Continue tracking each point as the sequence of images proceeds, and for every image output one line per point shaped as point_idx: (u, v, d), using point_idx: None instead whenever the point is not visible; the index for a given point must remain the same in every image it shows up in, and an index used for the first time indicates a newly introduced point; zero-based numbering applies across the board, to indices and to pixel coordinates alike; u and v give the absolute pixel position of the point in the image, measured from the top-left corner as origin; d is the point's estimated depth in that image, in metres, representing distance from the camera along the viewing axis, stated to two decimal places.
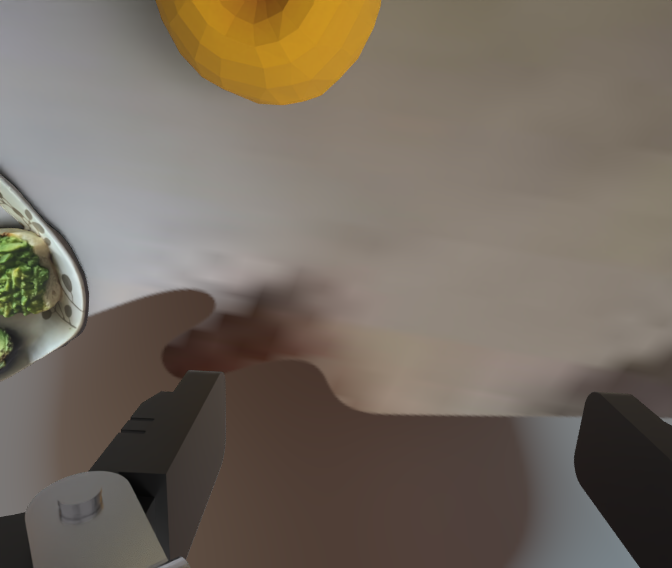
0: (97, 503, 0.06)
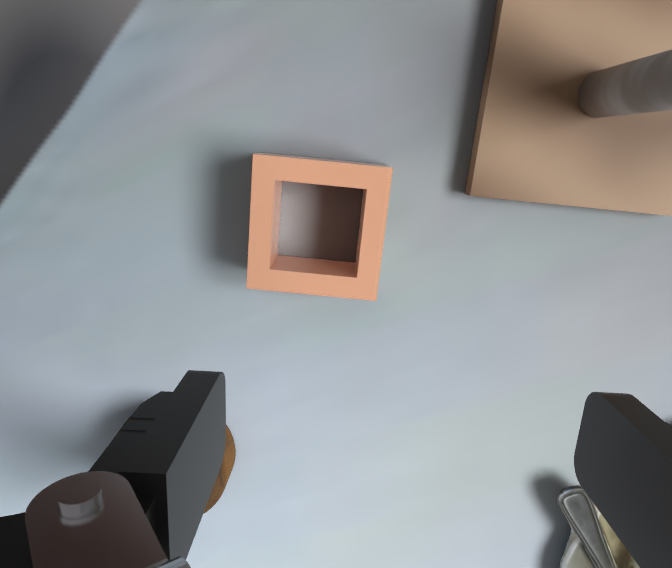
0: (97, 503, 0.06)
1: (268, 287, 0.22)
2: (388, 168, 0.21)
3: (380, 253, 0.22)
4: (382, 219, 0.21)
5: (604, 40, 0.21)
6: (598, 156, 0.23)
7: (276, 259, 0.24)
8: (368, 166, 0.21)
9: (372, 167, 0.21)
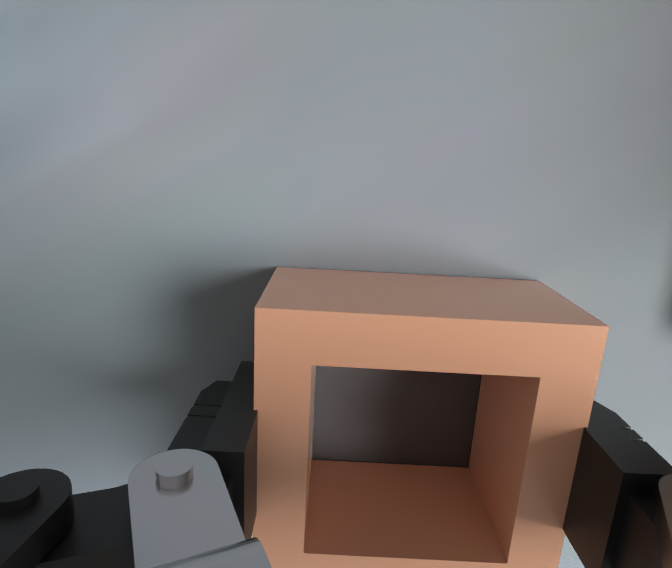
0: (188, 478, 0.07)
1: None
2: (597, 328, 0.08)
3: (565, 513, 0.09)
4: (574, 441, 0.09)
5: None
6: None
7: (312, 486, 0.11)
8: (546, 325, 0.08)
9: (556, 327, 0.08)
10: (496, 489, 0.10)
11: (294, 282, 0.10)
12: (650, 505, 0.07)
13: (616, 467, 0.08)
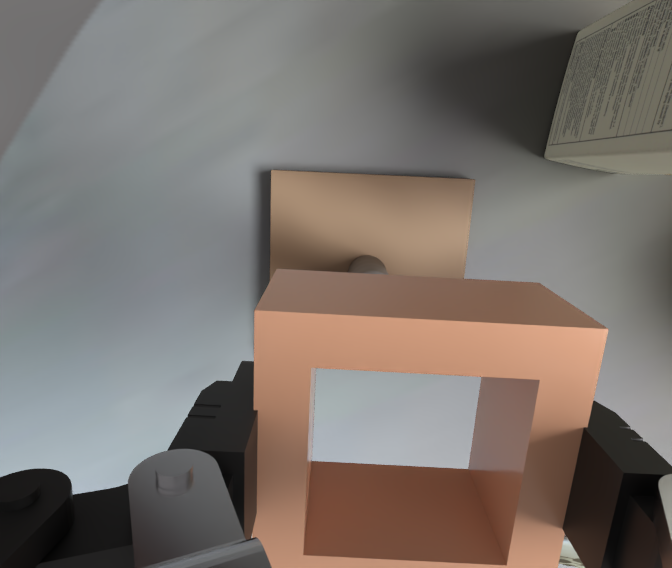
0: (188, 478, 0.07)
1: None
2: (596, 330, 0.08)
3: None
4: (574, 444, 0.09)
5: (362, 232, 0.25)
6: None
7: (312, 487, 0.11)
8: (546, 327, 0.08)
9: (556, 329, 0.08)
10: (496, 491, 0.10)
11: (294, 284, 0.10)
12: (650, 505, 0.07)
13: (616, 467, 0.08)
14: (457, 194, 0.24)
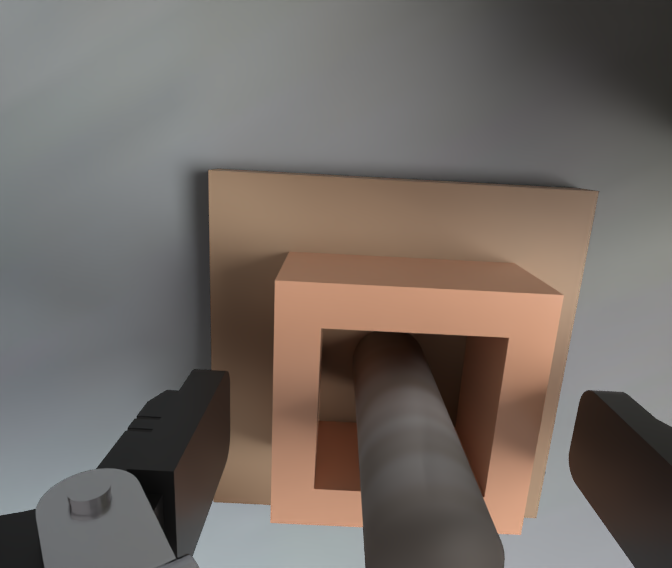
0: (106, 500, 0.06)
1: (312, 519, 0.12)
2: (554, 296, 0.10)
3: (532, 453, 0.11)
4: (538, 392, 0.11)
5: None
6: None
7: (319, 440, 0.13)
8: (513, 294, 0.10)
9: (521, 296, 0.10)
10: (476, 438, 0.12)
11: (305, 263, 0.12)
12: None
13: None
14: (563, 219, 0.13)
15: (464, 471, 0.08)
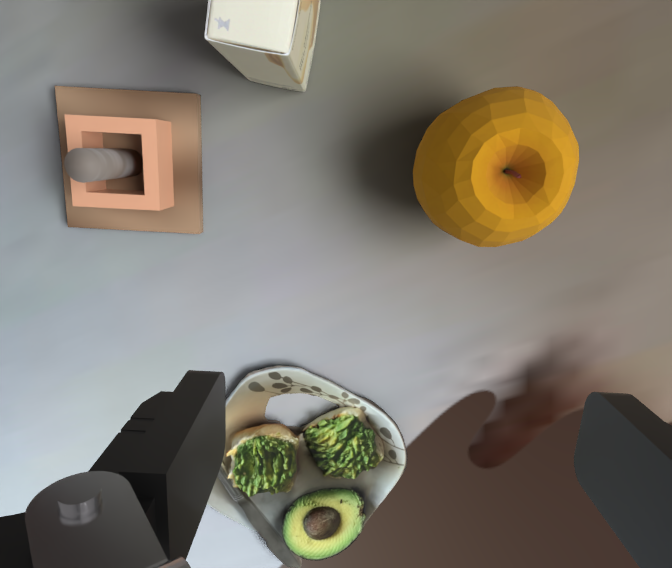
0: (97, 503, 0.06)
1: (87, 205, 0.34)
2: (153, 119, 0.32)
3: (157, 177, 0.33)
4: (155, 154, 0.33)
5: None
6: None
7: (100, 189, 0.35)
8: (140, 119, 0.32)
9: (142, 119, 0.32)
10: None
11: None
12: None
13: None
14: (186, 104, 0.35)
15: (98, 151, 0.30)
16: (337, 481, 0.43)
